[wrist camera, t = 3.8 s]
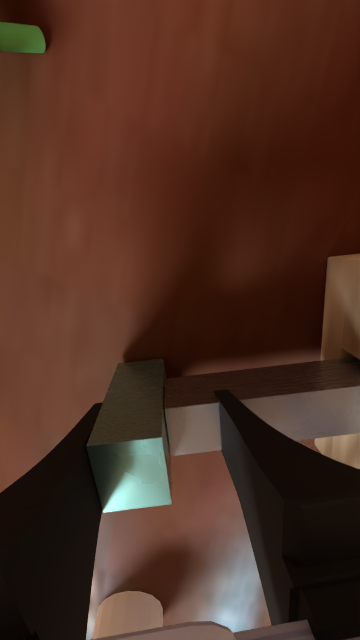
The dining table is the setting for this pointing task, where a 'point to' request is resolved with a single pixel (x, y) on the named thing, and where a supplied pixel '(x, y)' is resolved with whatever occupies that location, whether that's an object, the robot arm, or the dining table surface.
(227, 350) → the dining table surface
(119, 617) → the capsule
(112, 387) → the bar
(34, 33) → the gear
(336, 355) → the block
